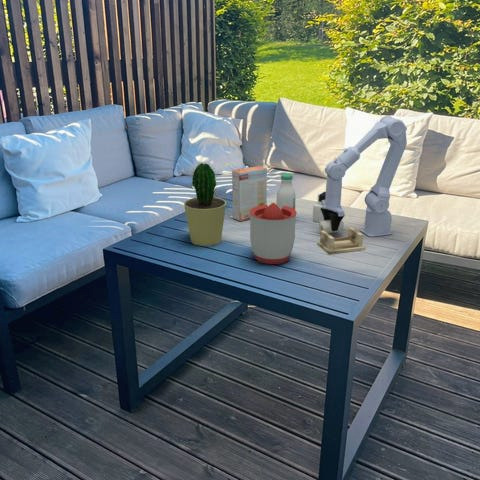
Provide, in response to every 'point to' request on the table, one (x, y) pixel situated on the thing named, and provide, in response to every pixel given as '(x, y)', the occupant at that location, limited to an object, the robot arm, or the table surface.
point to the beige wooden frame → (341, 242)
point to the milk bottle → (286, 192)
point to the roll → (329, 226)
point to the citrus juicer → (272, 233)
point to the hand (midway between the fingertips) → (331, 228)
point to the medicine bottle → (316, 208)
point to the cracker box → (248, 190)
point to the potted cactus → (205, 208)
